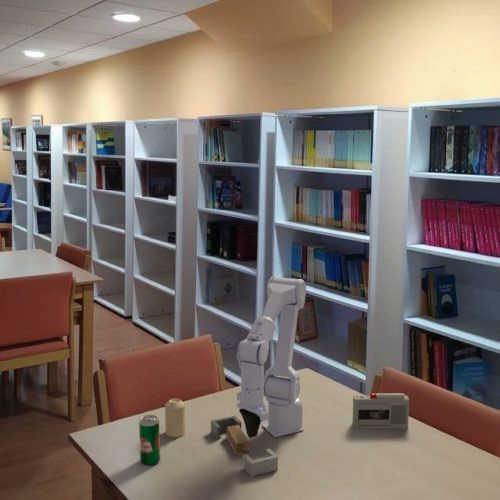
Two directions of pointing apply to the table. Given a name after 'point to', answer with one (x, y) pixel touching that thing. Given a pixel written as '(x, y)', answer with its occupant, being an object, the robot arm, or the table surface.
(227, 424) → the fixed cap
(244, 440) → the brown wooden block
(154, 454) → the soda can
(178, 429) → the candle
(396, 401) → the cassette player
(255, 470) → the cap
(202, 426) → the table surface
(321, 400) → the table surface
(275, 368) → the robot arm
